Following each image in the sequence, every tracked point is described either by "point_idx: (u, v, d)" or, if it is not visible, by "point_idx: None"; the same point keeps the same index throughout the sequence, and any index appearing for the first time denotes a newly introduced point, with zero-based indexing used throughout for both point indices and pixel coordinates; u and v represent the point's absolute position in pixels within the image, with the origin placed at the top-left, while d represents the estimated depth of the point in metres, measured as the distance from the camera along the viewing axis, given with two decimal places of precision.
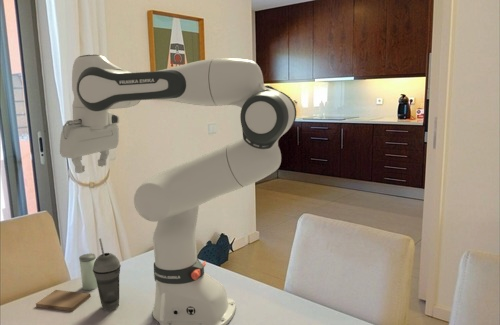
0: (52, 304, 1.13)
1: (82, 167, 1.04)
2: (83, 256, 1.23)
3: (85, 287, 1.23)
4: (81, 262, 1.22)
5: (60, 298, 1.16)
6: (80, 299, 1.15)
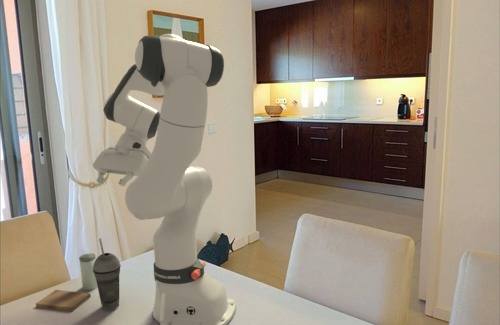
0: (52, 304, 1.13)
1: (99, 177, 1.32)
2: (83, 256, 1.23)
3: (85, 287, 1.23)
4: (81, 262, 1.22)
5: (60, 298, 1.16)
6: (80, 299, 1.15)
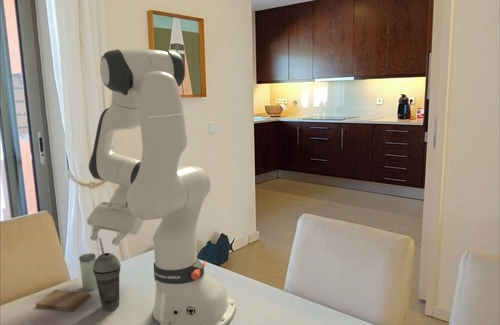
0: (52, 304, 1.13)
1: (93, 234, 1.31)
2: (83, 256, 1.23)
3: (85, 287, 1.23)
4: (81, 262, 1.22)
5: (60, 298, 1.16)
6: (80, 299, 1.15)
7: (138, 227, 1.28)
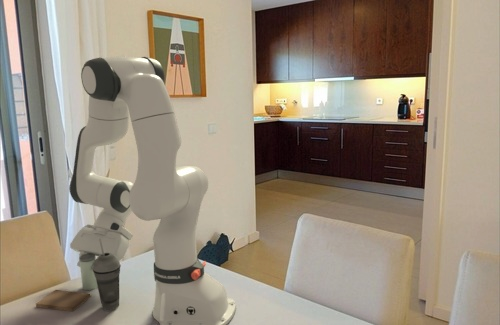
0: (52, 304, 1.13)
1: None
2: (83, 256, 1.23)
3: (85, 287, 1.23)
4: (81, 262, 1.22)
5: (60, 298, 1.16)
6: (80, 299, 1.15)
7: (123, 252, 1.23)
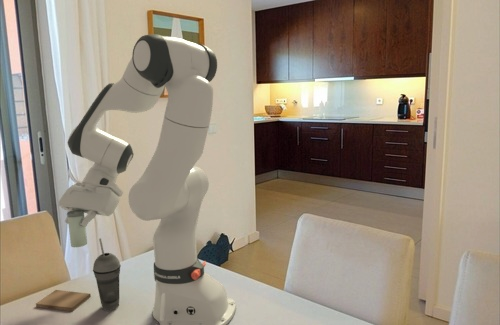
0: (52, 304, 1.13)
1: None
2: (71, 212, 1.18)
3: (74, 244, 1.18)
4: (69, 217, 1.17)
5: (60, 298, 1.16)
6: (80, 299, 1.15)
7: (112, 208, 1.18)
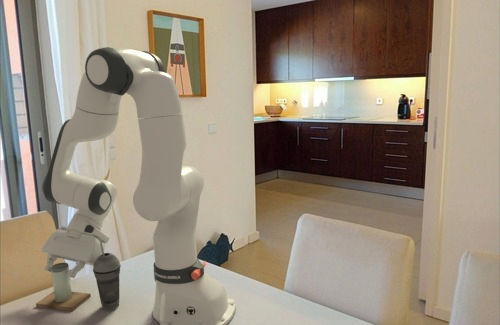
0: (52, 304, 1.13)
1: (47, 265, 1.17)
2: (55, 266, 1.15)
3: (58, 299, 1.14)
4: (52, 272, 1.13)
5: None
6: (80, 299, 1.15)
7: (97, 257, 1.14)
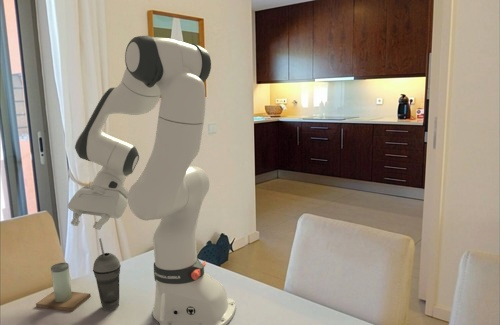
0: (52, 304, 1.13)
1: (73, 219, 1.24)
2: (55, 266, 1.15)
3: (58, 299, 1.14)
4: (53, 272, 1.13)
5: None
6: (80, 299, 1.15)
7: (121, 210, 1.21)
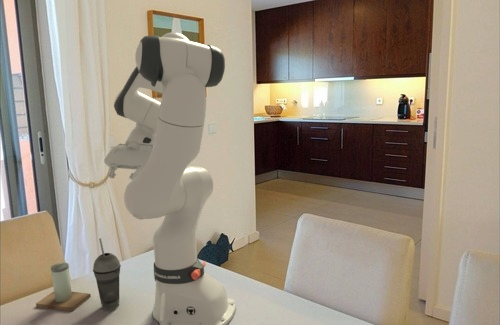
0: (52, 304, 1.13)
1: (110, 172, 1.34)
2: (55, 266, 1.15)
3: (58, 299, 1.14)
4: (53, 272, 1.13)
5: None
6: (80, 299, 1.15)
7: None
